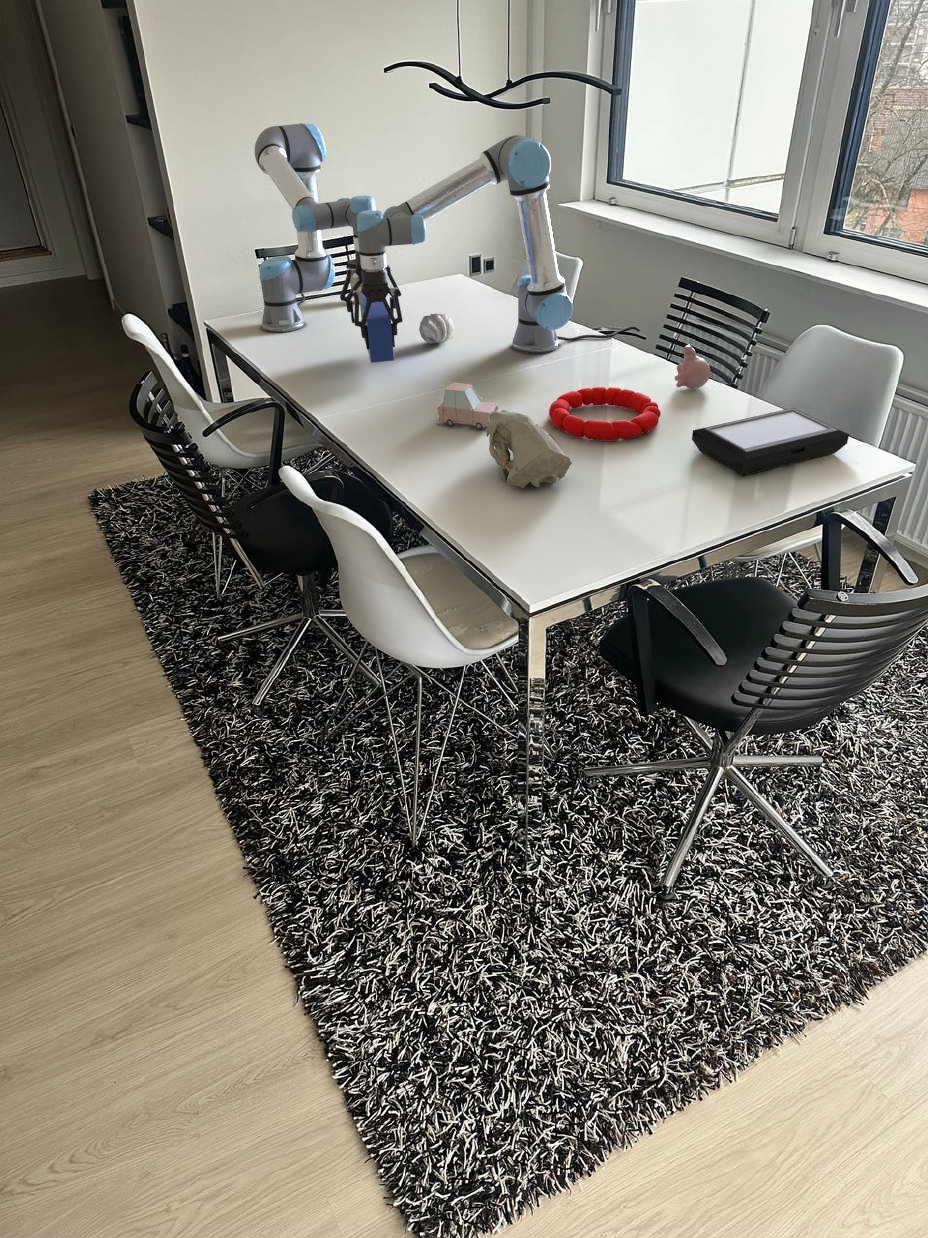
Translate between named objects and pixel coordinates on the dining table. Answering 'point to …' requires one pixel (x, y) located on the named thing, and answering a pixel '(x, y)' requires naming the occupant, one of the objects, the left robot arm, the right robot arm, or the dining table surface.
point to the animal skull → (525, 450)
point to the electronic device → (769, 441)
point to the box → (378, 331)
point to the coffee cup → (352, 265)
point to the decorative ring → (604, 428)
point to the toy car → (465, 406)
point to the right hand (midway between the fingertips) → (380, 346)
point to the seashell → (436, 328)
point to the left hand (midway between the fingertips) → (372, 320)
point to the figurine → (692, 370)
